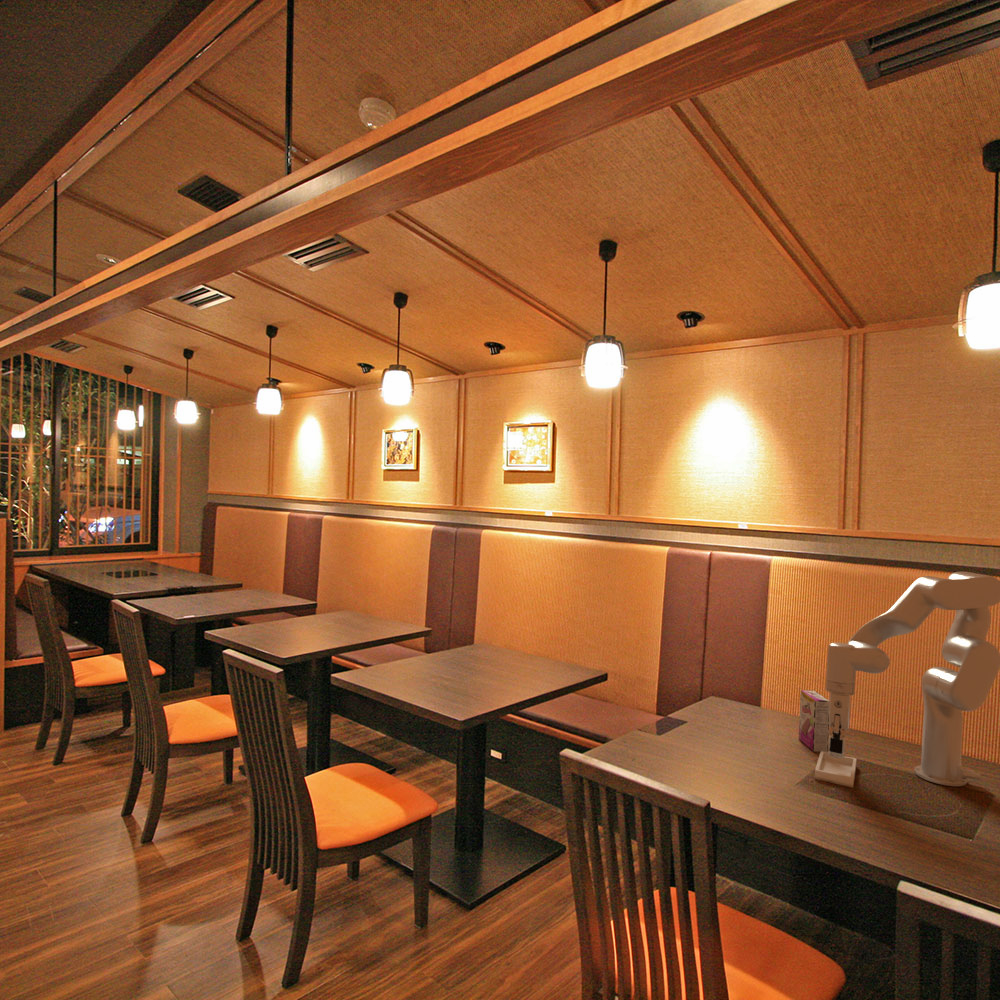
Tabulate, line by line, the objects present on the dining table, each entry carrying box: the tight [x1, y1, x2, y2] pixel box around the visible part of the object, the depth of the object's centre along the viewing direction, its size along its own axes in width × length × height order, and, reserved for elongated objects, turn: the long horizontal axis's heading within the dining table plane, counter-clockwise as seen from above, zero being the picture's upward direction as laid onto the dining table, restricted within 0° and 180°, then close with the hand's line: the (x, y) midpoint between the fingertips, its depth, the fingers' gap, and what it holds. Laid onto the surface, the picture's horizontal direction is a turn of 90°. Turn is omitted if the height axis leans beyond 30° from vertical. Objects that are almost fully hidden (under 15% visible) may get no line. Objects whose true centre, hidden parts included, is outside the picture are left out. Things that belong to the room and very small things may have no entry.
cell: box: [828, 726, 846, 758], centre depth 195 cm, size 4×4×8 cm
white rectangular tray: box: [814, 751, 857, 788], centre depth 195 cm, size 10×18×2 cm, turn 150°
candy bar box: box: [798, 689, 830, 753], centre depth 216 cm, size 11×5×16 cm, turn 179°
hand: (836, 749), depth 195 cm, fingers closed on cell, 4 cm apart
